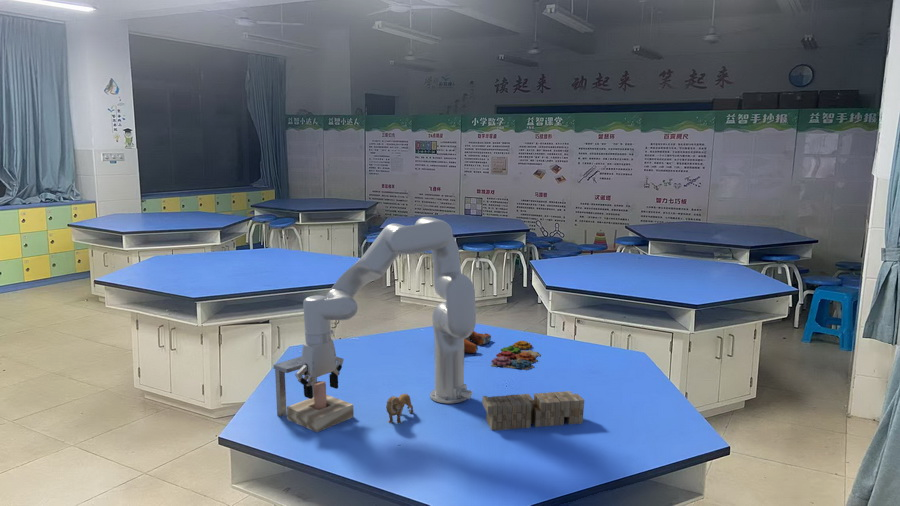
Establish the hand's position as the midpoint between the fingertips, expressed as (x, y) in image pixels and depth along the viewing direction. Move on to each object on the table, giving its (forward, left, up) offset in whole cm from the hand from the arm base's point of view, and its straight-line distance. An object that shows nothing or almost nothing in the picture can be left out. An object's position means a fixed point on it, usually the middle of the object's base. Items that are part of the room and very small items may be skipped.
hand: (321, 392), depth 194 cm
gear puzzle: (-12, -88, -9) cm, 89 cm away
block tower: (-50, -38, -9) cm, 64 cm away
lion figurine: (-19, -14, -8) cm, 25 cm away
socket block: (0, +1, -8) cm, 8 cm away
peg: (0, 0, -8) cm, 8 cm away
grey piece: (+9, +1, -8) cm, 12 cm away
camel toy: (+11, -83, -9) cm, 84 cm away
